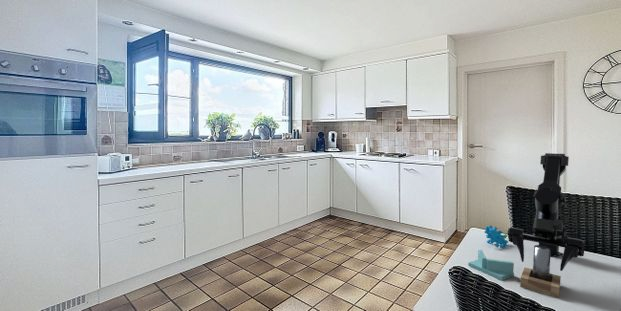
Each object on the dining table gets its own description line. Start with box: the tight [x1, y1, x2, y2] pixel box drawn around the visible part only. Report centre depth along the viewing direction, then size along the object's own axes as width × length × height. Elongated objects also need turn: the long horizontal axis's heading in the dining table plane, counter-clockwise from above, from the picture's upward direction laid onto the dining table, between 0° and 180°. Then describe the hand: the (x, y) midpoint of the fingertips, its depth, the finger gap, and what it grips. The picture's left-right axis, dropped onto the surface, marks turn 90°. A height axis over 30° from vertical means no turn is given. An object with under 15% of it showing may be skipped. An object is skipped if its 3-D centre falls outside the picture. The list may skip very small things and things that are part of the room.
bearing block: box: [519, 266, 562, 299], centre depth 90 cm, size 9×9×3 cm
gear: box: [484, 225, 509, 249], centre depth 124 cm, size 11×6×10 cm
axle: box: [532, 244, 551, 282], centre depth 90 cm, size 4×4×12 cm
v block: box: [467, 249, 515, 281], centre depth 100 cm, size 6×12×5 cm, turn 25°
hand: (541, 265), depth 89 cm, fingers open, 9 cm apart
